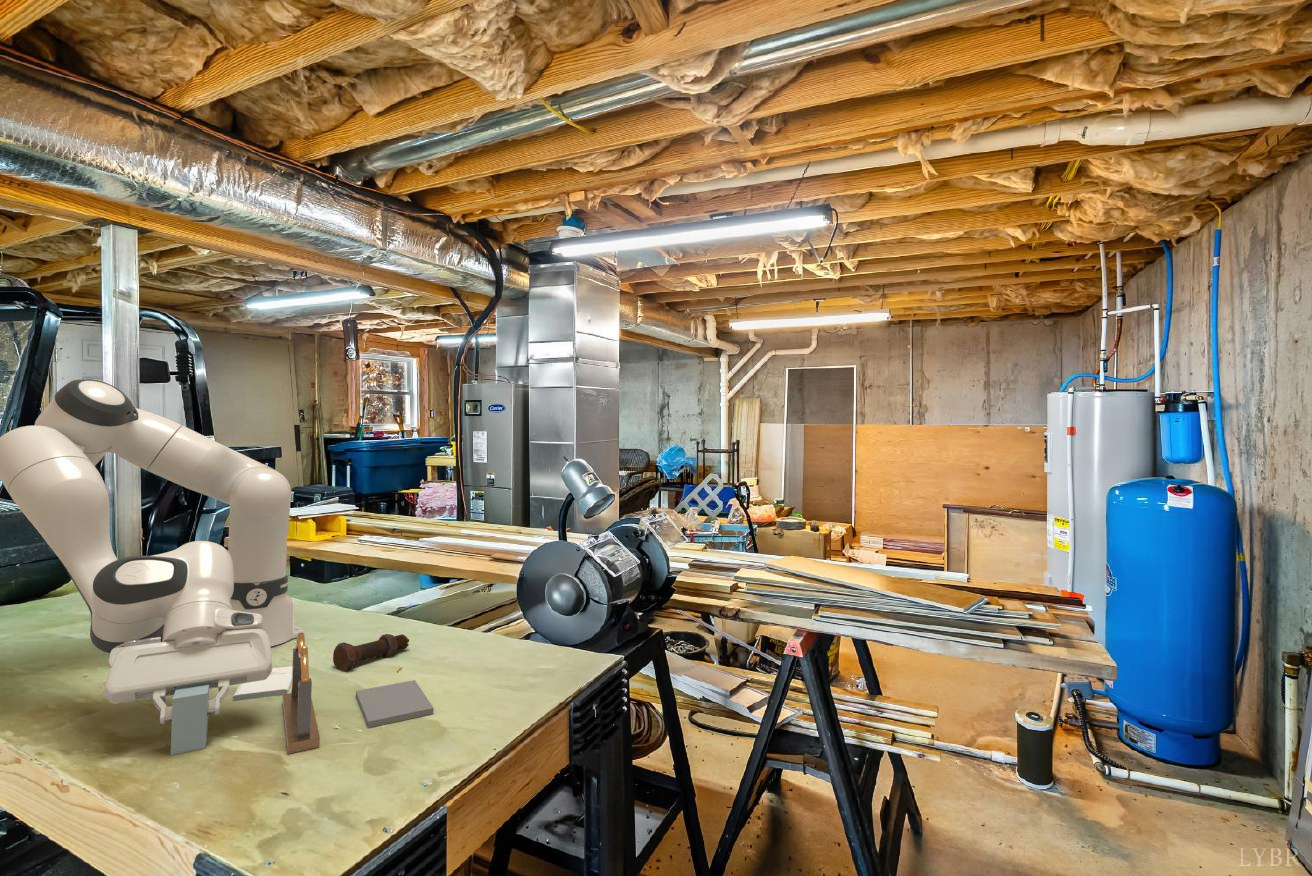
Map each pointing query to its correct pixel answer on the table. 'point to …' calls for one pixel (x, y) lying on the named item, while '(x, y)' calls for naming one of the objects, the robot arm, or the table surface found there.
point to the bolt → (367, 650)
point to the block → (189, 719)
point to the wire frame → (300, 704)
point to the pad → (393, 703)
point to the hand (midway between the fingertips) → (190, 717)
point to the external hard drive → (266, 685)
